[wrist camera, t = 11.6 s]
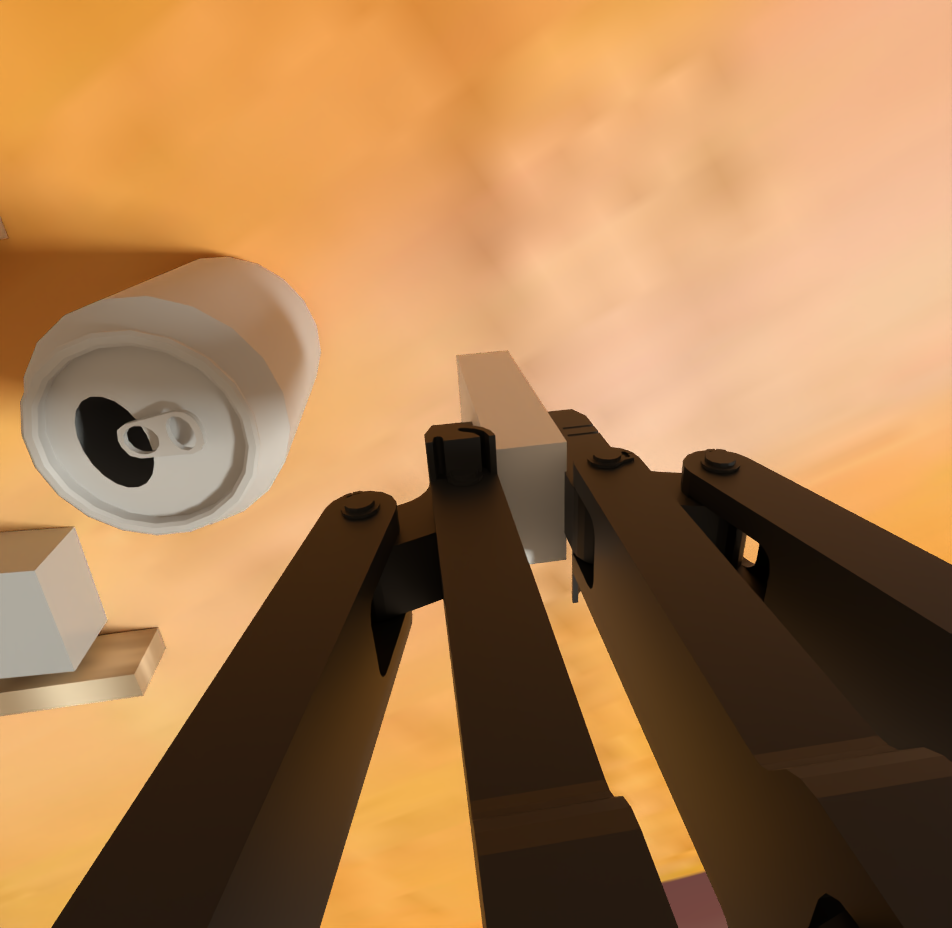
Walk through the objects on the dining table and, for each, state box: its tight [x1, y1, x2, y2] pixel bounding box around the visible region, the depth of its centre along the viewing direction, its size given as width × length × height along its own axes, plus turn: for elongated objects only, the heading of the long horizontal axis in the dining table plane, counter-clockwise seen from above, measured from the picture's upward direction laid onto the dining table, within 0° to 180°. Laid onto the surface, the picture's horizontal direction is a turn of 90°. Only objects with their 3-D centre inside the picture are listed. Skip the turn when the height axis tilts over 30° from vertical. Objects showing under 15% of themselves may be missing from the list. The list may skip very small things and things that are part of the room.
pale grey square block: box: [0, 527, 107, 679], centre depth 29 cm, size 6×6×4 cm
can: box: [20, 257, 321, 535], centre depth 22 cm, size 8×8×12 cm
